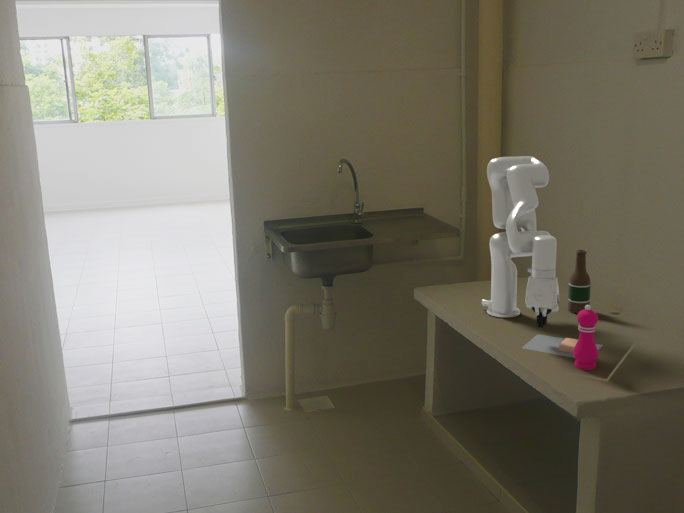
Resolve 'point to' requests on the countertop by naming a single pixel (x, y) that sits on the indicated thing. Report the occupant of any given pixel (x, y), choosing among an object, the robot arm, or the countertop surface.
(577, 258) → the beer bottle
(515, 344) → the countertop surface
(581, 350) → the pepper mill
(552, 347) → the mat
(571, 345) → the tile
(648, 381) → the countertop surface
